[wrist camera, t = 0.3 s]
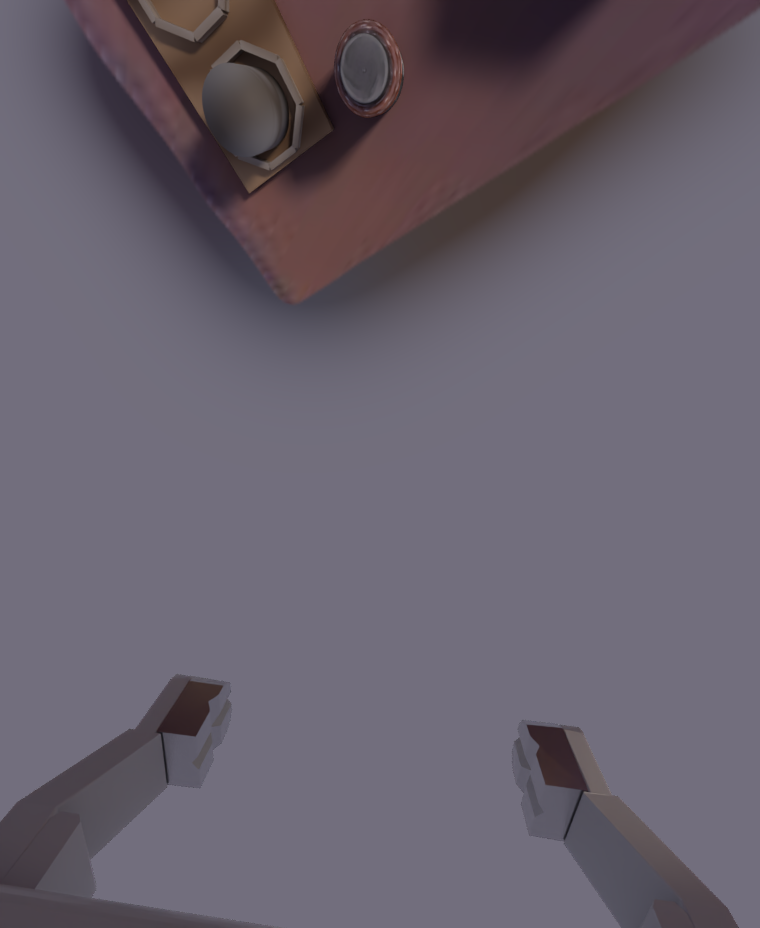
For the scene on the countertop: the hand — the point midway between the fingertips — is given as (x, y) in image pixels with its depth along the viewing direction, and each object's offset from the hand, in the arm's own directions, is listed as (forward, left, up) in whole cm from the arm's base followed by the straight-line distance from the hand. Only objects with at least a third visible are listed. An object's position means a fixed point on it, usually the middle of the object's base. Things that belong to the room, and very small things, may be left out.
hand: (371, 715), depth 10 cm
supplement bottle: (-14, +3, -53) cm, 55 cm away
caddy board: (-23, -9, -53) cm, 58 cm away
